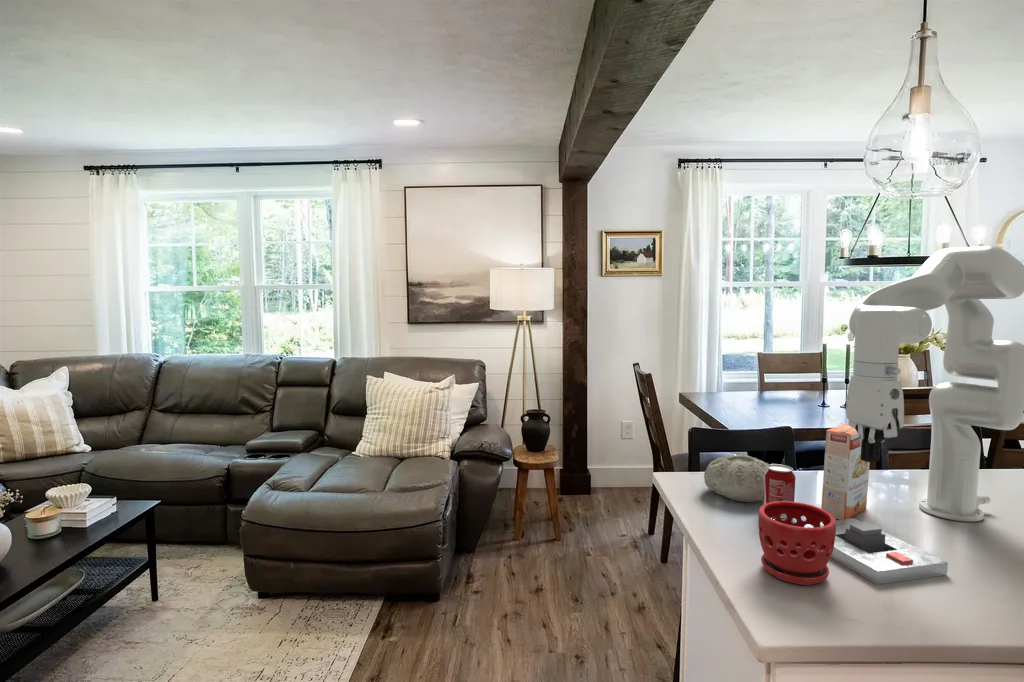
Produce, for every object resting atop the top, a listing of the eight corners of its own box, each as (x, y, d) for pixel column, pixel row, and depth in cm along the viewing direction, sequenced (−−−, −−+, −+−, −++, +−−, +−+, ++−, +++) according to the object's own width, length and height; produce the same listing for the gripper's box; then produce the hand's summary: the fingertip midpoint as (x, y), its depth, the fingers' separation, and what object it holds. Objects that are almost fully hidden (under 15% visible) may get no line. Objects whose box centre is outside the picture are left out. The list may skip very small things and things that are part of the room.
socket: (853, 529, 133) (854, 515, 132) (946, 574, 111) (948, 559, 111) (792, 535, 129) (793, 522, 129) (877, 584, 108) (878, 568, 107)
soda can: (796, 523, 136) (799, 472, 135) (765, 521, 137) (767, 470, 136) (789, 513, 142) (791, 464, 141) (759, 510, 144) (761, 462, 142)
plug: (866, 546, 123) (867, 521, 123) (884, 555, 119) (885, 529, 118) (844, 549, 122) (845, 523, 121) (861, 558, 117) (863, 532, 117)
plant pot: (746, 557, 118) (748, 499, 117) (812, 559, 118) (815, 500, 117) (772, 591, 105) (775, 525, 104) (847, 592, 105) (851, 527, 104)
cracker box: (847, 523, 136) (852, 434, 134) (819, 515, 141) (824, 429, 139) (868, 508, 145) (873, 425, 143) (842, 502, 150) (846, 420, 148)
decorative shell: (728, 511, 143) (730, 470, 142) (690, 487, 161) (691, 451, 160) (792, 505, 148) (793, 466, 147) (747, 482, 165) (749, 447, 164)
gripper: (924, 375, 111) (918, 470, 113) (860, 364, 126) (855, 449, 127) (892, 376, 109) (886, 473, 111) (830, 366, 124) (826, 451, 125)
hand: (870, 460), depth 119 cm, fingers closed
